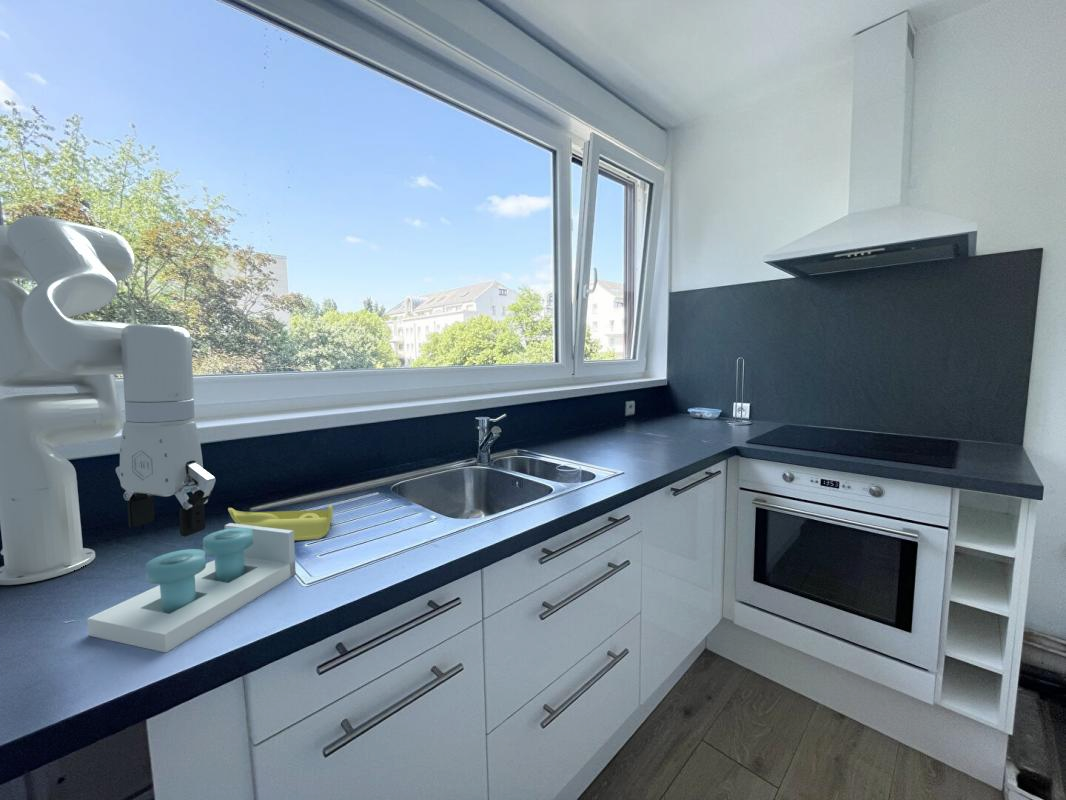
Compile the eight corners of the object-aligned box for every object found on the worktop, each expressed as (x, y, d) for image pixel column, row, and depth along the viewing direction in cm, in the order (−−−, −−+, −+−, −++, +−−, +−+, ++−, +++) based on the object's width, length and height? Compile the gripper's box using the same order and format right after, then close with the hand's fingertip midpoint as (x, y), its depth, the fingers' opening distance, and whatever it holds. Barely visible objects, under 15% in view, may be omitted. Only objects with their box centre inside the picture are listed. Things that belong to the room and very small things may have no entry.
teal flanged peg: (195, 594, 72) (192, 541, 71) (233, 575, 78) (230, 525, 78) (228, 600, 70) (225, 545, 69) (264, 579, 77) (262, 529, 76)
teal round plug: (137, 627, 63) (132, 566, 62) (185, 602, 69) (181, 547, 69) (173, 634, 61) (169, 572, 60) (219, 608, 68) (216, 551, 67)
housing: (88, 635, 61) (83, 579, 60) (232, 564, 82) (230, 523, 82) (165, 652, 58) (161, 593, 57) (295, 574, 79) (293, 530, 78)
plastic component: (333, 510, 106) (331, 503, 97) (331, 542, 103) (328, 538, 95) (237, 513, 99) (225, 506, 91) (232, 547, 97) (219, 544, 88)
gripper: (85, 411, 61) (93, 530, 63) (181, 420, 57) (187, 547, 59) (144, 406, 69) (150, 512, 70) (233, 413, 64) (237, 526, 66)
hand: (167, 528), depth 65 cm, fingers open, 9 cm apart
